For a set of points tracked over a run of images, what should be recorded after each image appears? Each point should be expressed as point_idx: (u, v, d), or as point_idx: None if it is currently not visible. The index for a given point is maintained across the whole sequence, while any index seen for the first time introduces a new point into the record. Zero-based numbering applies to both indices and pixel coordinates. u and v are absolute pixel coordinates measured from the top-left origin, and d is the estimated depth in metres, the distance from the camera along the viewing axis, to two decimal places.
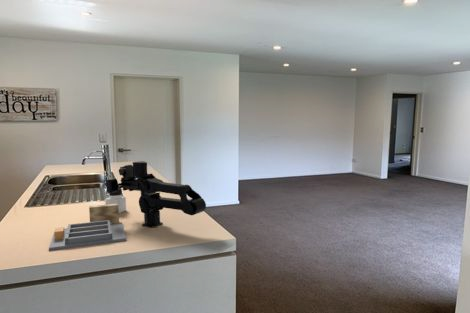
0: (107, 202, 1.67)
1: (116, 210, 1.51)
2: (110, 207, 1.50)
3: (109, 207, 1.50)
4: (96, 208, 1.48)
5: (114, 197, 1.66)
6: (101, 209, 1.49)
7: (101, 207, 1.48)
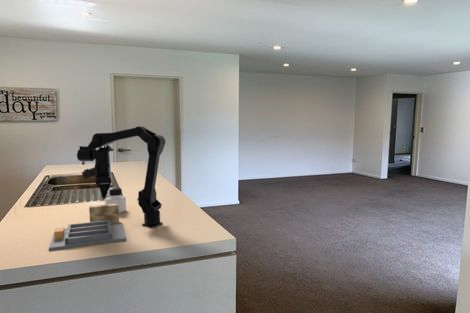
0: (107, 202, 1.67)
1: (116, 210, 1.51)
2: (110, 207, 1.50)
3: (109, 207, 1.50)
4: (96, 208, 1.48)
5: (114, 197, 1.66)
6: (101, 209, 1.49)
7: (101, 207, 1.48)
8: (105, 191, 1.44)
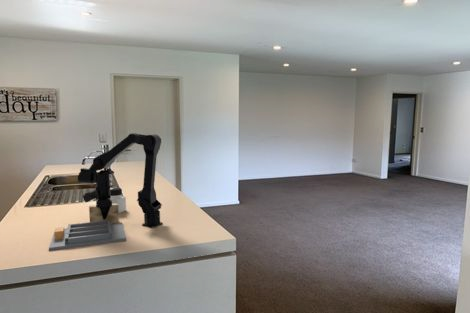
0: None
1: (116, 210, 1.51)
2: (110, 207, 1.50)
3: None
4: (96, 208, 1.48)
5: (114, 197, 1.66)
6: None
7: None
8: (105, 212, 1.48)
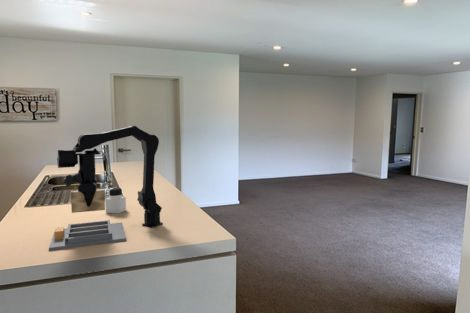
0: (107, 202, 1.67)
1: (102, 196, 1.33)
2: (95, 192, 1.32)
3: None
4: (79, 193, 1.30)
5: (114, 197, 1.66)
6: None
7: None
8: (90, 198, 1.30)
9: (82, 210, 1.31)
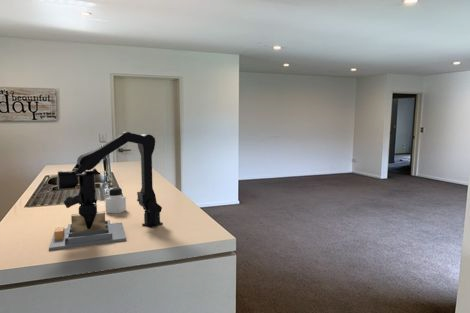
0: (107, 202, 1.67)
1: (102, 219, 1.33)
2: None
3: None
4: (80, 217, 1.30)
5: (114, 197, 1.66)
6: None
7: None
8: (90, 221, 1.28)
9: None
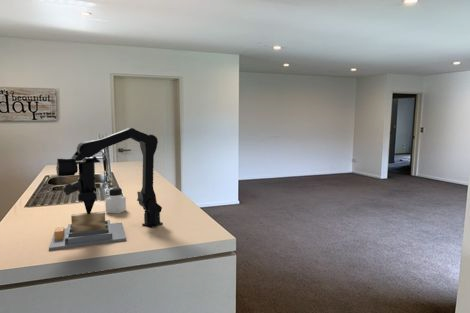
0: (107, 202, 1.67)
1: (102, 219, 1.33)
2: (95, 215, 1.32)
3: (94, 215, 1.32)
4: (80, 217, 1.30)
5: (114, 197, 1.66)
6: (85, 218, 1.30)
7: (85, 216, 1.30)
8: (90, 206, 1.31)
9: None
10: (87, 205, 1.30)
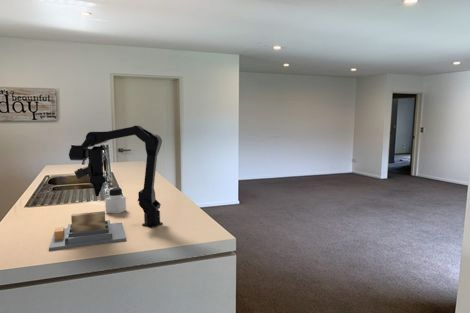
0: (107, 202, 1.67)
1: (102, 219, 1.33)
2: (95, 215, 1.32)
3: (94, 215, 1.32)
4: (80, 217, 1.30)
5: (114, 197, 1.66)
6: (85, 218, 1.30)
7: (85, 216, 1.30)
8: (98, 189, 1.45)
9: None
10: (96, 188, 1.45)
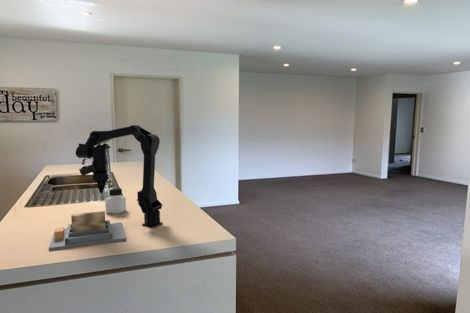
0: (107, 202, 1.67)
1: (102, 219, 1.33)
2: (95, 215, 1.32)
3: (94, 215, 1.32)
4: (80, 217, 1.30)
5: (114, 197, 1.66)
6: (85, 218, 1.30)
7: (85, 216, 1.30)
8: (102, 186, 1.51)
9: None
10: (100, 185, 1.51)
